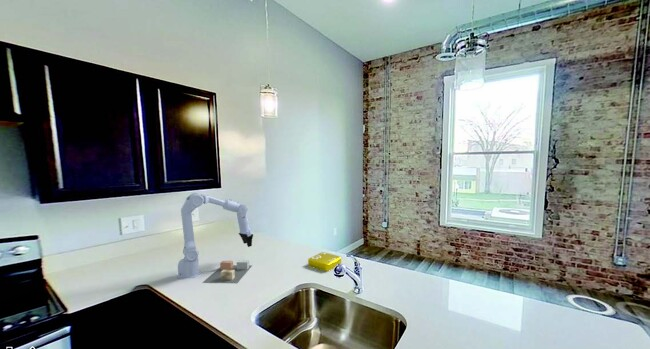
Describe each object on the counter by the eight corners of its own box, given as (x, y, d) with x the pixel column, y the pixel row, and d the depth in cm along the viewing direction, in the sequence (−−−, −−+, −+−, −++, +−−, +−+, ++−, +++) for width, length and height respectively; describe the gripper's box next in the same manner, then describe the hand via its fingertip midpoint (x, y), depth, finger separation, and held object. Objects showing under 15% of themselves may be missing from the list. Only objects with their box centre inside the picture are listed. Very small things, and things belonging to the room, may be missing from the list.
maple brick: (220, 279, 132) (220, 272, 132) (223, 277, 135) (223, 269, 135) (232, 279, 131) (232, 272, 131) (234, 277, 134) (234, 269, 134)
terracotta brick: (220, 269, 144) (220, 262, 144) (223, 267, 147) (222, 260, 147) (230, 269, 144) (230, 262, 144) (233, 267, 147) (232, 260, 147)
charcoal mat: (202, 283, 129) (202, 282, 129) (222, 265, 151) (222, 265, 151) (237, 284, 128) (237, 283, 128) (252, 266, 150) (252, 265, 150)
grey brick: (236, 269, 145) (236, 262, 144) (239, 267, 148) (238, 260, 147) (247, 269, 144) (247, 262, 144) (249, 267, 147) (249, 260, 147)
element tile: (327, 272, 140) (327, 264, 140) (306, 266, 149) (306, 258, 149) (342, 263, 152) (342, 255, 152) (322, 258, 161) (322, 250, 161)
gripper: (254, 223, 151) (258, 245, 152) (246, 219, 162) (250, 239, 164) (242, 227, 147) (246, 249, 149) (235, 222, 159) (239, 243, 160)
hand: (247, 244), depth 156 cm, fingers open, 7 cm apart
